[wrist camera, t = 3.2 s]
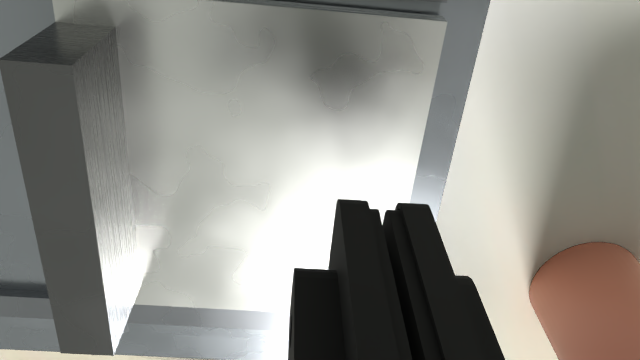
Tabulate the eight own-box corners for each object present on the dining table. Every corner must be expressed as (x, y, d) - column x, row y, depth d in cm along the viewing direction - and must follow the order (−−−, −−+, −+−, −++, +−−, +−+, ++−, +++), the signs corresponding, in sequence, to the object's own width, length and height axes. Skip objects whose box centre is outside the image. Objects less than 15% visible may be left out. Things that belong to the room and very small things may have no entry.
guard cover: (442, 15, 12) (478, 59, 9) (383, 305, 16) (397, 388, 13) (59, -19, 11) (-12, 16, 9) (104, 290, 15) (65, 373, 13)
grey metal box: (443, -135, 16) (527, -129, 10) (376, 237, 24) (401, 375, 17) (-185, -203, 15) (-525, -243, 9) (-56, 210, 22) (-197, 347, 16)
